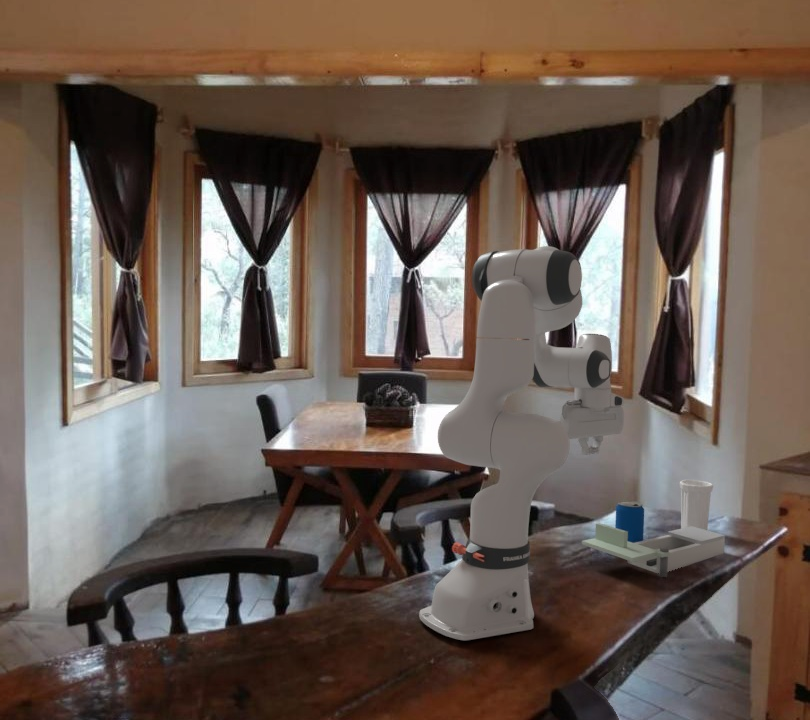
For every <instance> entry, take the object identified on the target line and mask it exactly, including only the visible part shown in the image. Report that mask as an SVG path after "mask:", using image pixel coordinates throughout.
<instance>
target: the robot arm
mask: <svg viewBox="0 0 810 720" xmlns="http://www.w3.org/2000/svg"><path fill="white" fill-rule="evenodd" d="M582 272H583V271H582V266H581V263H580V260H579V259H578V258H577V257H576V256H575V255H574V254H573V253H572V252H571V251H570V252H569V251H566V250H560V249H558V248H557V247H554V246H550V245H548V246H547V245H546V246H545V245H544V246H540V247H537V248H534V249H527V248H521V249H520V248H519V249H509V250H503V251H498V250H493V251H489V252H486V253H484V254H481V255H479V257H478V258H477V260H476V261H475V263H474V265H473V267H472V272H471V282H472V283H471V284H472V287H473V290H474V293H475V294H476V296H477V297H478V299H479V300H480V301H481V302H480V307H479V312H478V317H477V328H476V342H475V343H476V344H475V345H476V347H475V348H476V349H475V358H474V361H475V362H474V368H473V369H474V370H473V377H472V381H471V384H470V386H469V388H468V391H467V393H466V394H465V396H464V397H463V399H462V401H460V403H458V405H457V406H455V408H453V409H451V410H450V411H449V412H448V413H447V414H446V415H445V416H444V417H443V419H442V420H441V421H440V424H439V426H438V430H437V443H438V447H439V449H440V451H441V453H442V454H443V456H444V457H445V458H446V459H449V460H452V461H454V462H457V463H460V464H463V465H467V466H471V467H472V466H473V467H481V468H489V469H490V468H491V469H496V470H499V477H498V482H497V483H495V484H492V485H490V486H487V487H485V488H482V489H480V491H478V492H477V493H476V494H475V496H473V498H472V500H471V502H470V520H469V521H470V523H469V524H470V527H469V528H470V529H469V531H470V532H469V537H468V538H467V541H466V543H465V545H464V544H461V543H460V542H454V543H453V545H452V546H451V551H452V552H453V553H454V554H457V555H459V556H461V560H460V561H459V562H457V564H456V565H455V566H453V568H452V569H451V570H450V571H449V572H448V573H447V574H445V576H444V577H442V579H440V581H439V582H437V584H436V585H435V587H434V590H433V595H432V598H431V599H432V600H431V605H430V606H427V607H424V608H422V609H420V610H419V613H418V616H419V620H420V621H421V622H422V623H423V624H424V625H426V627H429V628H430V629H432V630H433V631H435V632H436V633H438V634H441V635H443V636H445V637H449V638H451V639H455V640H460V641H471V640H477V639H483V638H490V637H494V636H501V635H506V634H511V633H517V632H524V631H529V630H532V629H534V620H533V619H534V617H535V612H534V608H533V605H532V603H533V602H532V599H531V589H530V578H529V572H528V571H529V570H528V569H529V567H528V566H529V565H528V563H529V562H530V561H531V559H530V558H531V557H530V556H531V542H530V541H529V540H528V539H529V523H530V515H531V514H530V512H531V507H532V502H533V498H534V496H535V493H536V492H537V489H538V488H539V487H540V486H541V484H542V483H543V482H544V481H545V480H546V479H547V478H548V477H549V476H551V475H552V474H554V473H555V472H557V471H558V470H560V468H561V467H562V466H563V465H564V464H565V463H566V460H567V459H568V456H569V452H570V445H571V444H570V440H574V439H578V441H577V442H578V443H579V445H580V447H581V455H584V456H589V455H591V454H593V455H597V454H600V447H601V445H602V443H603V441H604V436H612V435H613V436H614V435H621V433H622V431H623V430H624V420H625V419H624V417H625V416H624V415H625V414H624V413H625V412H624V408H623V406H624V405H625V398H624V397H623V396H620V395H617V394H616V393H613V392H612V385H611V374H612V371H613V354H612V353H613V352H612V343H611V339H610V338H609V337H608V336H606V335H603V334H600V333H599V334H598V333H583V334H581V335H580V336H579V337H578V340H577V347H559V346H558V347H557V346H553V345H550V344H548V342H547V337H546V334H547V333H548V332H553V331H558V330H562V329H563V328H566V327H568V326H569V325H571V323H573V322H574V320H576V319H577V318H578V316H579V315H580V312H581V311H582V308H583V295H582V291H581V290H582V289H581V287H582V281H583V280H582V279H583V273H582ZM531 382H533V383H534V384H535V385H536V386H538V387H539V388H554V387H555V388H556V387H558V388H568V389H569V388H570V389H574V395H573V397H574V400H567V401H566V402H565V403H564V404H563V405H562V407H561V412H560V415H559V420H557V419H554V418H550V417H547V416H543V415H540V414H536V413H535V414H534V413H522V412H513V411H512V412H511V411H505V410H504V409H505V408H504V407H505V403H506V400H507V398H508V397H509V396H511V395H513V394H516V393H518V392H520V391H522V390H524V389H525V388H527V387H528V386H529V385H530V383H531ZM590 438H592V439H593V441H592V445H590V446H589V443H588V442H589V441H590V440H589V439H590Z"/></svg>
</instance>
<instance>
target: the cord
mask: <svg viewBox="0 0 810 720" xmlns="http://www.w3.org/2000/svg"><path fill="white" fill-rule="evenodd" d="M646 565H647V566H654V565H657V558H656V559H652V560H648V561H647V563H646Z"/></svg>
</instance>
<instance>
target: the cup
mask: <svg viewBox="0 0 810 720" xmlns="http://www.w3.org/2000/svg"><path fill="white" fill-rule="evenodd" d="M679 487H680V499H681V500H680V509H681V510H680V511H681V512H680V517H681V518H680V522H681V523H680V529H681V528H686V527H690V526H693V527H697V528H700V529H704V530H708V527H709V516H710V506H711V505H710V504H711V496H712V495H711V494H712V492H713V489H714V485H713V483H711V482H709V481H705V480H699V479H683V480H681V481H679Z"/></svg>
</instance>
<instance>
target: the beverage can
mask: <svg viewBox="0 0 810 720" xmlns="http://www.w3.org/2000/svg"><path fill="white" fill-rule="evenodd" d="M644 524H645V508H644V507H643V503H641V502H639V501H635V500H634V501H632V500H619V501H618V503H617V505H616V506H615V525H614V528H617V529H621V530H624V531H627V532H628V540H627V541H629V542H632V543H635V542H640V541H644V529H645V525H644Z"/></svg>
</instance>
